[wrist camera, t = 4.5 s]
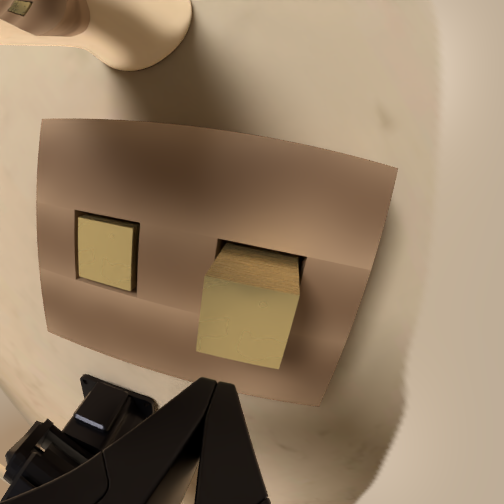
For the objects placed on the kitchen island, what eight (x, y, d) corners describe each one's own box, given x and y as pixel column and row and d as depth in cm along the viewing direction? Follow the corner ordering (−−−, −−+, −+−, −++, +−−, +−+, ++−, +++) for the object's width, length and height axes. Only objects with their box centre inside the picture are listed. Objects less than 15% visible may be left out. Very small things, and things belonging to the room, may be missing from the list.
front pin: (282, 314, 14) (278, 369, 11) (219, 301, 15) (195, 351, 11) (297, 254, 14) (299, 295, 10) (228, 239, 14) (204, 275, 10)
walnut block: (315, 361, 19) (318, 406, 15) (81, 302, 20) (47, 331, 16) (372, 163, 15) (398, 168, 11) (86, 120, 16) (42, 118, 12)
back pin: (161, 261, 18) (130, 291, 14) (116, 251, 18) (79, 276, 14) (166, 210, 17) (132, 228, 13) (118, 201, 17) (78, 217, 13)
